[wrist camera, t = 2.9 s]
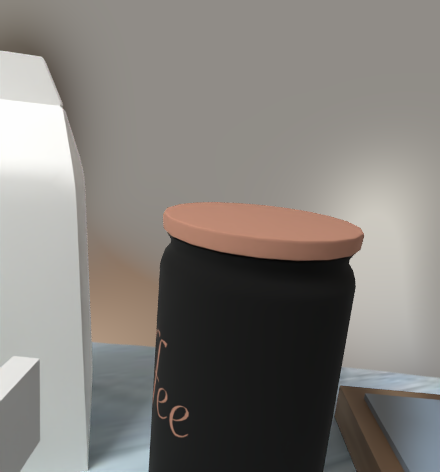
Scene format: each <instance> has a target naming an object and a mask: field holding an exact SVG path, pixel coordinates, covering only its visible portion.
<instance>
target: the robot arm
mask: <svg viewBox="0 0 440 472" xmlns="http://www.w3.org/2000/svg"><path fill="white" fill-rule="evenodd" d="M39 442H40V359H38V358H28V357H19V356H13V357H12V358H10V359H9V360H8V361H7V362H6V363H5V364H4V365H3V366H2V367H1V368H0V472H20V471H21V469H22V468H23V466H24V465H25V463H26V462H27V460H28V459H29V457H30V455H31V454H32V452H33V451H34V449H35V448H36V446H37V445H38V443H39Z"/></svg>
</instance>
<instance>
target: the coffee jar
mask: <svg viewBox="0 0 440 472" xmlns="http://www.w3.org/2000/svg"><path fill="white" fill-rule="evenodd" d="M163 220H164V229H165V230H166V231H167V232H168V234H169V236H170V238H171V243H170V244H169V245H168V246H167V247H166V249H165V251H164V254H163V256H162V259H161V263H160V278H159V296H158V314H157V332H156V350H155V368H154V386H153V404H152V422H151V440H150V458H149V472H323V469H324V463H325V457H326V452H327V446H328V440H329V435H330V429H331V423H332V418H333V412H334V406H335V401H336V395H337V389H338V383H339V378H340V372H341V366H342V360H343V355H344V349H345V344H346V338H347V332H348V326H349V321H350V315H351V310H352V304H353V298H354V293H355V287H356V286H355V277H354V273H353V270H352V268H351V266H350V265H349V260H350V258H351V257H352V256H353V255H354V254H355V253H356V252H358V251H359V250H360V249H361V246H362V242H363V238H364V234H363V232H362V230H361V228H359V227H357V226H355V225H353V224H351V223H349V222H347V221H344V220H340V219H337V218H334V217H330V216H326V215H321V214H317V213H312V212H307V211H301V210H295V209H289V208H282V207H273V206H265V205H254V204H242V203H221V202H207V203H205V202H203V203H187V204H179V205H175V206H172V207H168V208H167V209H166V211H165V212H164V214H163Z"/></svg>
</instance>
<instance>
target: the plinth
mask: <svg viewBox="0 0 440 472" xmlns="http://www.w3.org/2000/svg"><path fill="white" fill-rule="evenodd" d="M334 417H335V419H336V422H337V424H338V426H339V429H340V431H341V434H342V436H343V439H344V441H345V444H346V446H347V449H348V451H349V454H350V456H351V459H352V461H353V464H354V466H355V469H356V471H357V472H440V395H437V394H426V393H415V392H404V391H393V390H382V389H372V388H361V387H350V386H340V388H339V394H338V399H337V405H336V411H335V416H334Z"/></svg>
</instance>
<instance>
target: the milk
mask: <svg viewBox="0 0 440 472" xmlns="http://www.w3.org/2000/svg"><path fill="white" fill-rule="evenodd" d="M62 107H63V103H62V101H61V99H60V96H59V94H58V91H57V89H56V86H55V84H54V81H53V79H52V77H51V74H50V72H49V69H48V67H47V64H46V62H45V60H44V59H43V57H40V56H33V55H26V54H19V53H13V52H6V51H0V368H1V367H2V366H3V365H4V364H5V363H6V362H7V361H8V360H9V359H10V358H12V357H13V356H19V357H28V358H38V359H40V442H39V443H38V445H37V446H36V448H35V449H34V451H33V452H32V454H31V455H30V457H29V459H28V460H27V462H26V463H25V465H24V466H23V468H22V469H21V471H20V472H82V471H88V460H89V439H90V418H91V397H92V377H93V365H92V341H91V317H90V293H89V271H88V270H89V269H88V245H87V222H86V197H85V180H84V172H83V168H82V163H81V159H80V156H79V153H78V150H77V146H76V143H75V140H74V137H73V134H72V131H71V127H70V124H69V121H68V118H67V115H66V112H65V110H63V108H62Z"/></svg>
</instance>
